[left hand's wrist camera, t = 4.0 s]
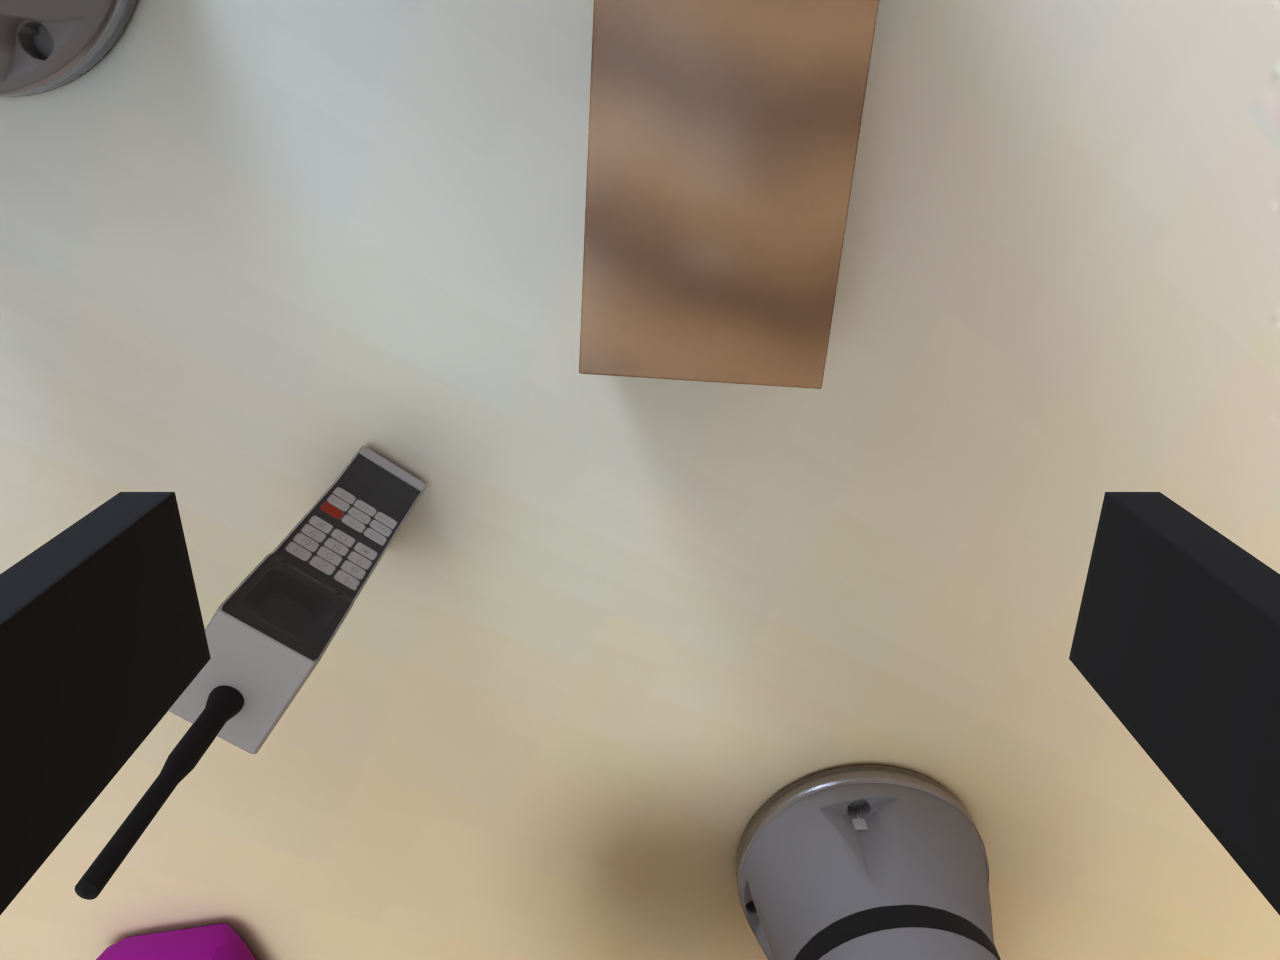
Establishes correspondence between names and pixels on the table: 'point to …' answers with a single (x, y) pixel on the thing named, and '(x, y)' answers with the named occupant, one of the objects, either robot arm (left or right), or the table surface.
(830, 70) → the wooden rectangular block
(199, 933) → the spray bottle
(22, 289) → the table surface
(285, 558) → the vintage mobile phone
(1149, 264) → the table surface
